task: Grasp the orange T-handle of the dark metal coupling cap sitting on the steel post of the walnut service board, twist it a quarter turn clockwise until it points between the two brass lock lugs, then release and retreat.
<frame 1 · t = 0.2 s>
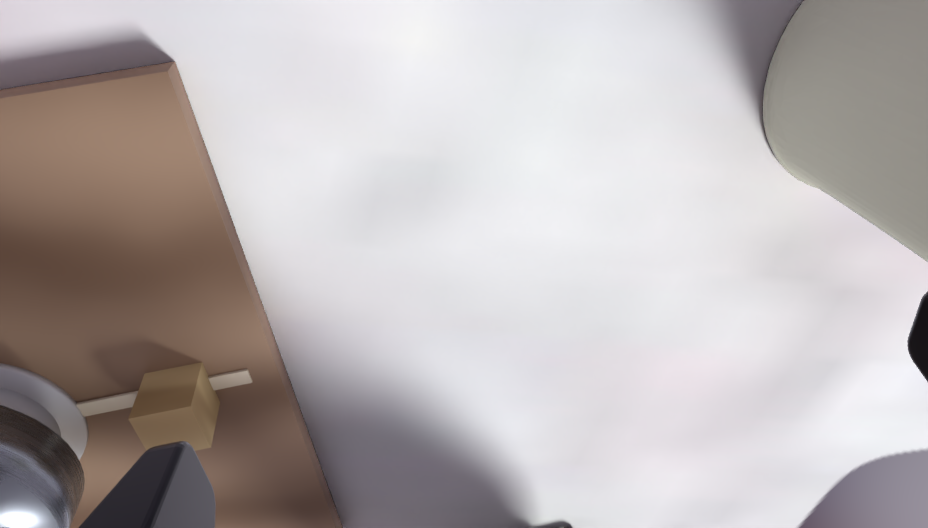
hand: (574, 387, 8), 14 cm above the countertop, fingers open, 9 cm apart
can: (882, 65, 23), on the countertop
post board: (6, 406, 24), on the countertop
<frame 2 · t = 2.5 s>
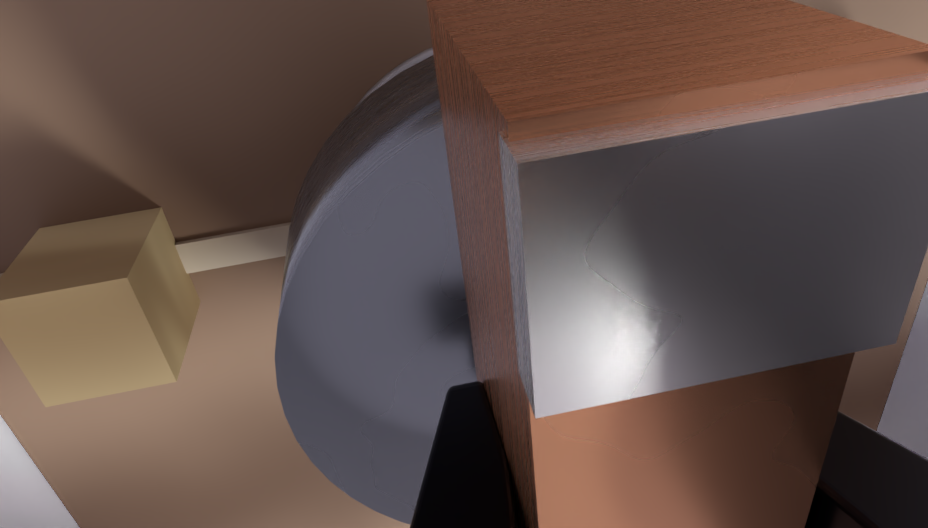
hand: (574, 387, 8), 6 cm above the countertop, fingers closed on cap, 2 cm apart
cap: (575, 390, 8), point 6 cm above the countertop, hinge at 0.0°, touching gripper
post board: (479, 179, 13), on the countertop
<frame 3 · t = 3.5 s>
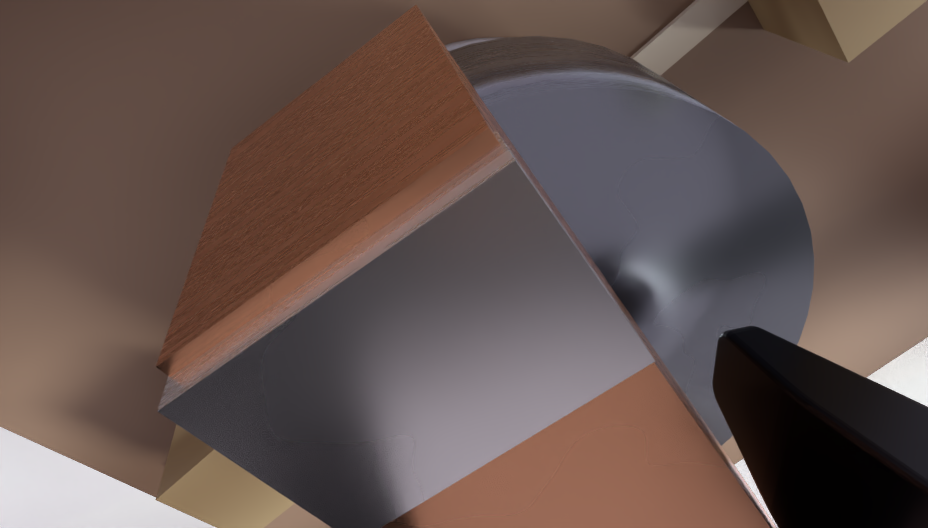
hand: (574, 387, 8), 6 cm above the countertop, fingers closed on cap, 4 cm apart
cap: (568, 389, 8), point 6 cm above the countertop, hinge at -7.0°, touching gripper
post board: (475, 181, 13), on the countertop
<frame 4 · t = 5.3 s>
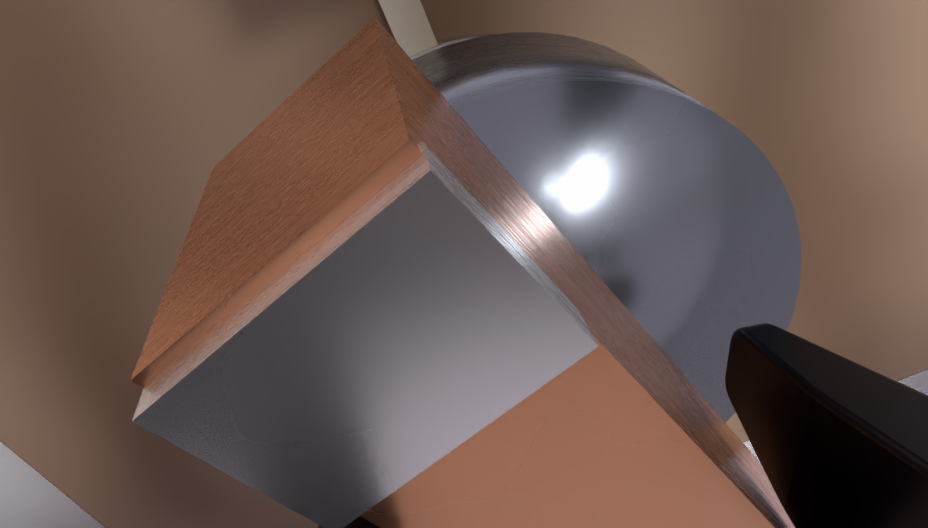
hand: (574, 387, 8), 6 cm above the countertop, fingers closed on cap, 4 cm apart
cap: (561, 376, 8), point 6 cm above the countertop, hinge at -72.3°, touching gripper
post board: (472, 177, 13), on the countertop
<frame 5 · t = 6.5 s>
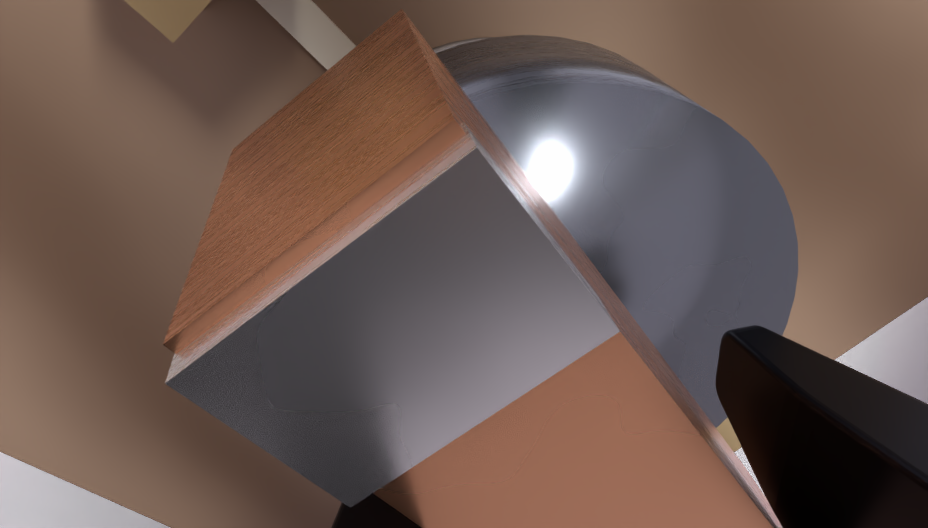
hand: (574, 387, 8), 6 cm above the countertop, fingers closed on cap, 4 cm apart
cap: (561, 373, 8), point 6 cm above the countertop, hinge at -95.1°, touching gripper
post board: (474, 178, 13), on the countertop
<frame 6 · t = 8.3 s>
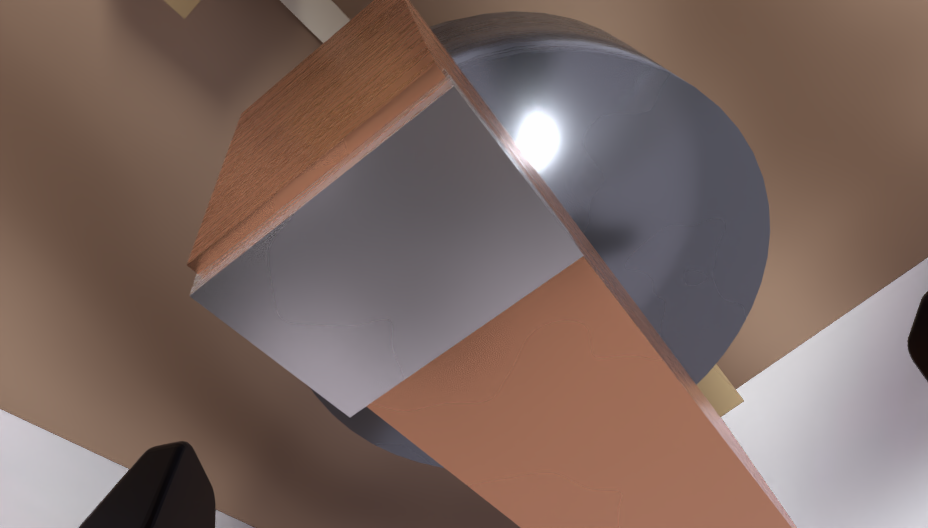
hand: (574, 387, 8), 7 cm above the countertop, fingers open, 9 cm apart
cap: (547, 326, 9), point 6 cm above the countertop, hinge at -95.1°
post board: (469, 154, 14), on the countertop
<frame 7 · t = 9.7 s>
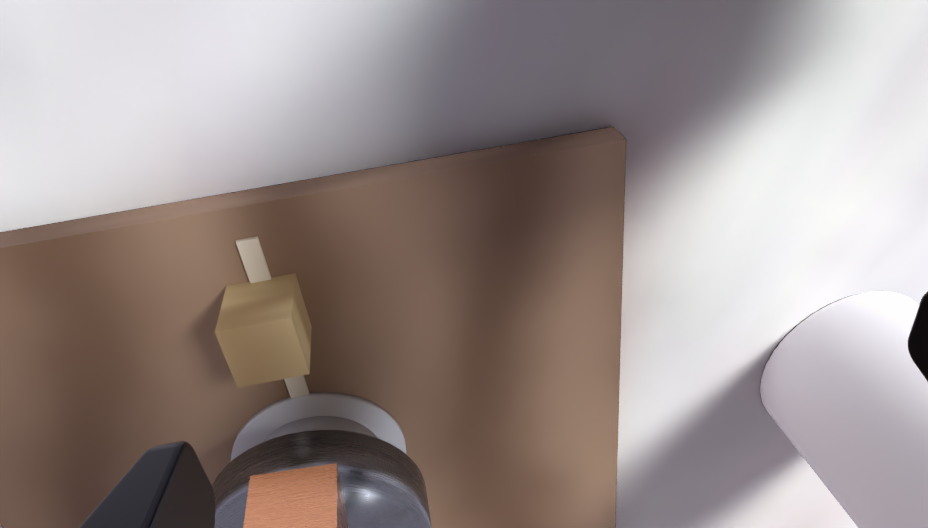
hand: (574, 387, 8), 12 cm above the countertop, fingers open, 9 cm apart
cylindrical container: (839, 359, 27), on the countertop
post board: (321, 434, 24), on the countertop
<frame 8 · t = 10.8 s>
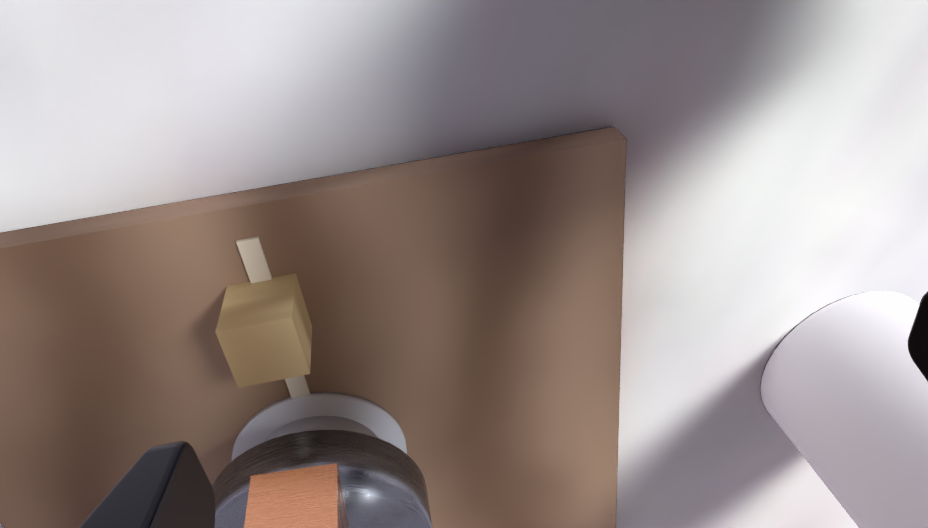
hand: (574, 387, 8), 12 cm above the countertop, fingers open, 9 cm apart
cylindrical container: (840, 359, 27), on the countertop
post board: (322, 434, 24), on the countertop
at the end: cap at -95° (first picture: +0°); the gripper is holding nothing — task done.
